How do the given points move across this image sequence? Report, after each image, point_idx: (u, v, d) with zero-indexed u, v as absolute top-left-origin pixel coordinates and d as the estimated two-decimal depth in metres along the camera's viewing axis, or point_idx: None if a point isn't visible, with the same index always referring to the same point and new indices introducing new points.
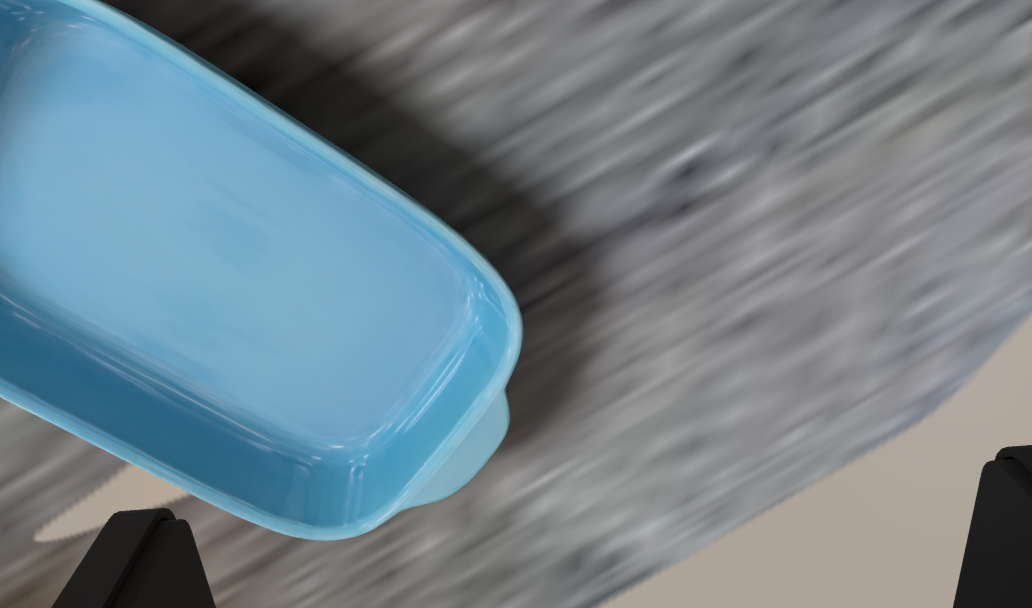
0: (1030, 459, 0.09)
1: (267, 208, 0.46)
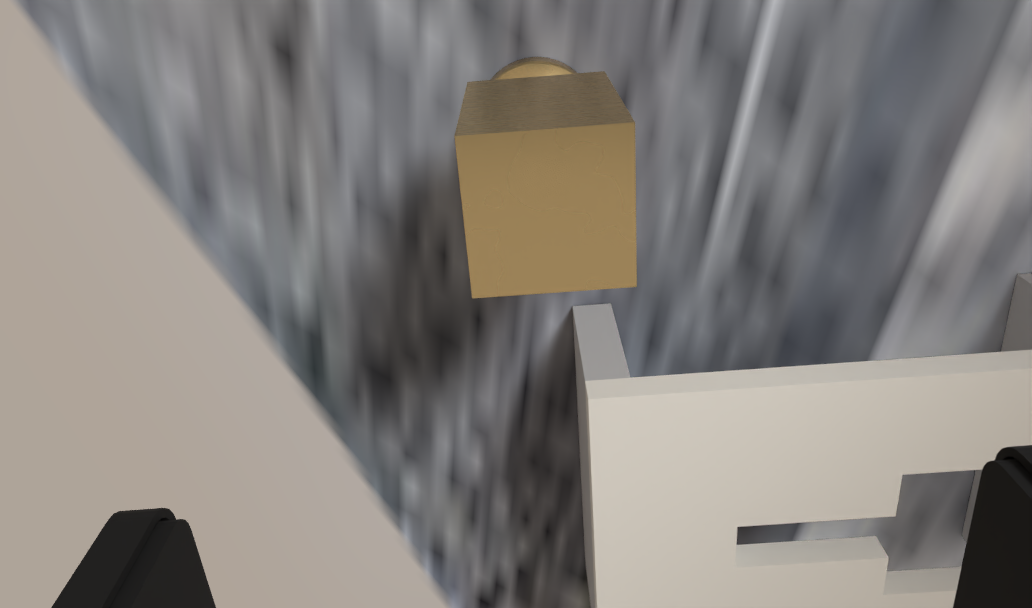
0: (1030, 459, 0.09)
1: None
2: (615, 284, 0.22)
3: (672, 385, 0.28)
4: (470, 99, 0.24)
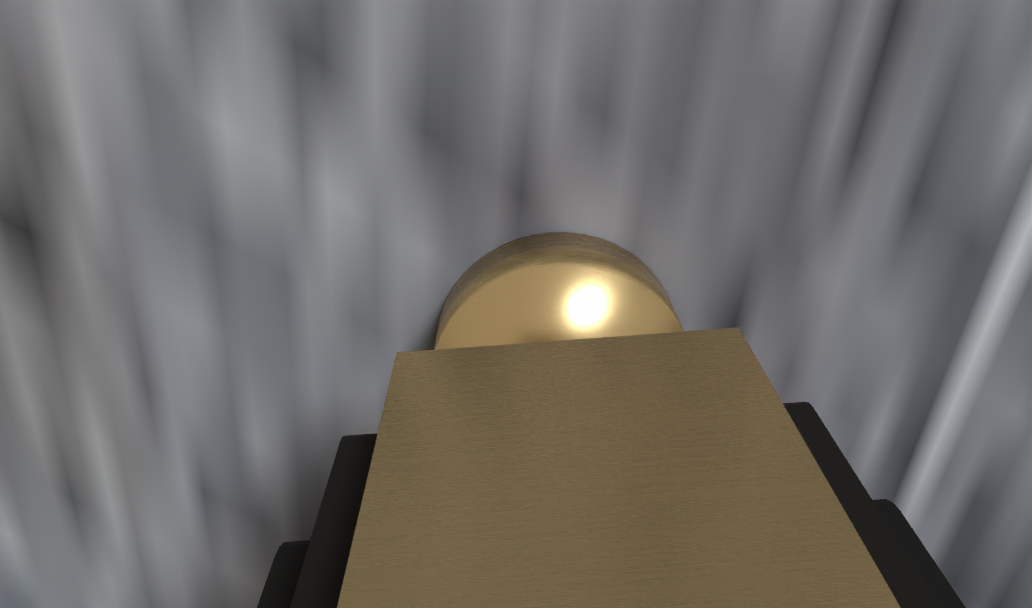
0: None
1: None
2: None
3: None
4: (385, 490, 0.08)
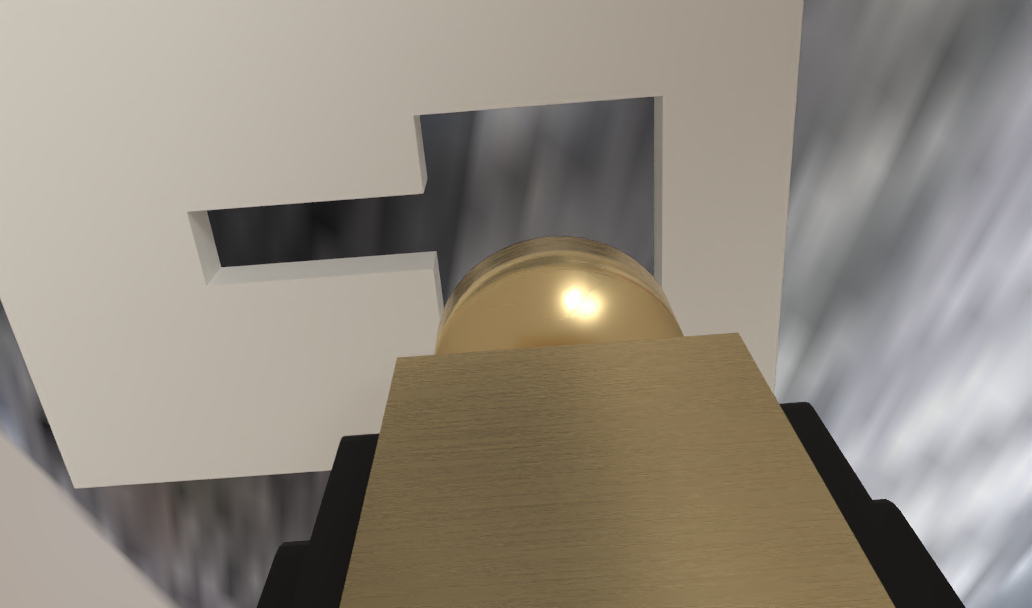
0: None
1: None
2: None
3: None
4: (386, 496, 0.08)
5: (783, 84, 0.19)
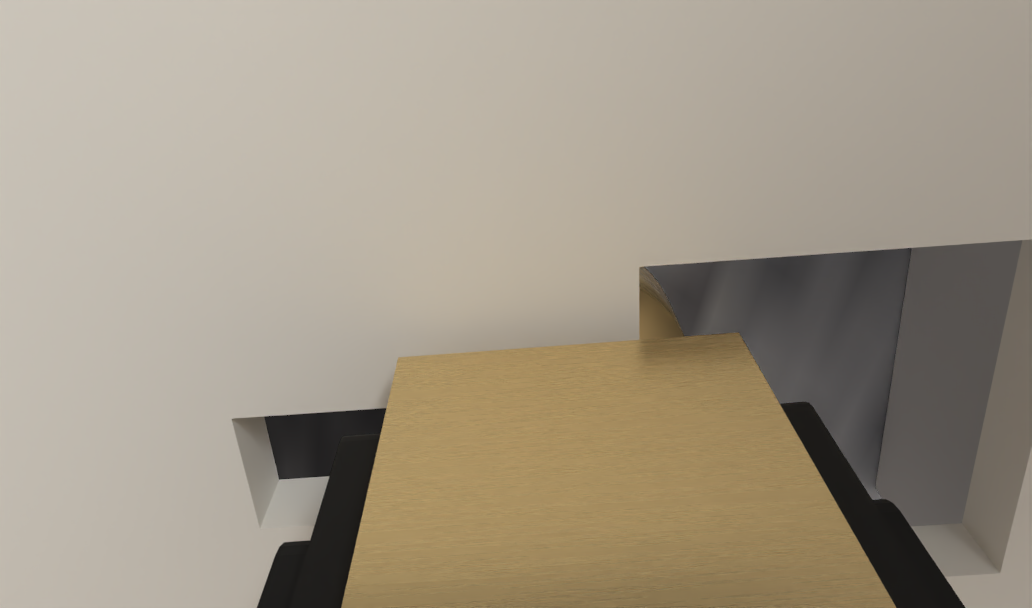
0: None
1: None
2: None
3: None
4: (387, 496, 0.08)
5: None
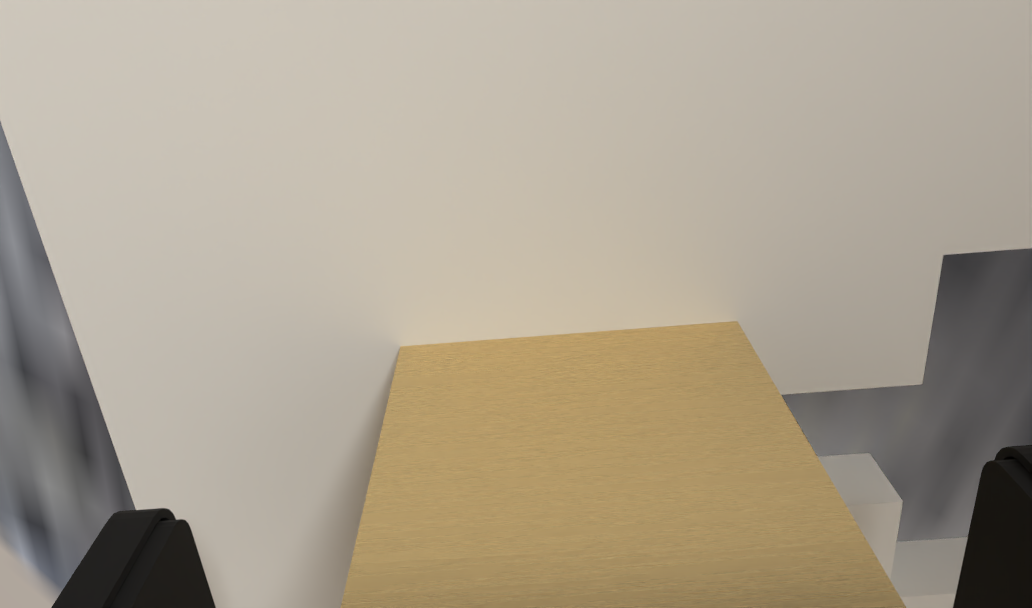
0: (1030, 459, 0.09)
1: None
2: None
3: None
4: (390, 479, 0.08)
5: None
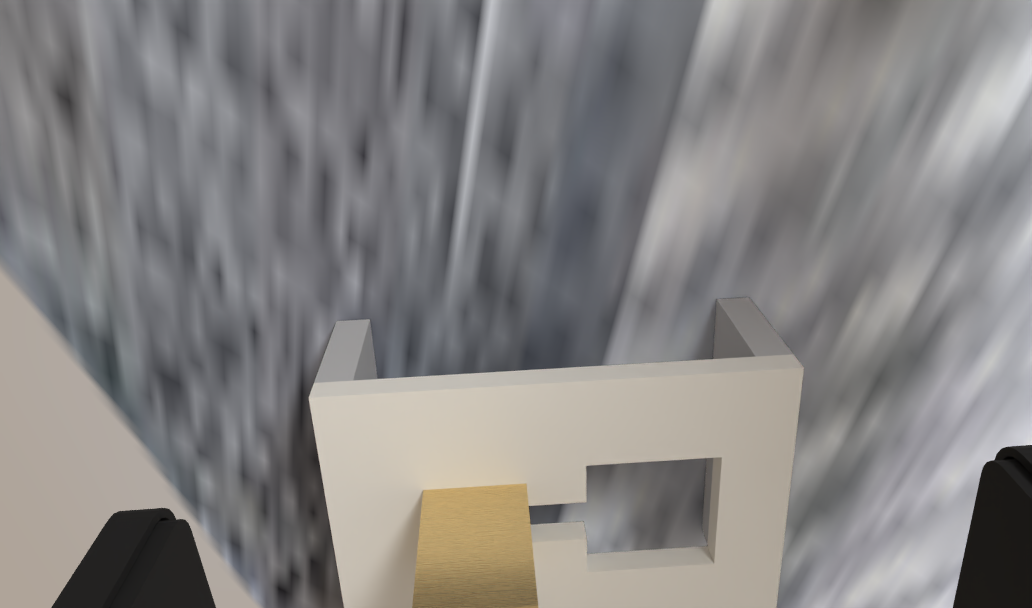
0: (1030, 459, 0.09)
1: None
2: None
3: (383, 387, 0.33)
4: (424, 533, 0.32)
5: (787, 452, 0.35)
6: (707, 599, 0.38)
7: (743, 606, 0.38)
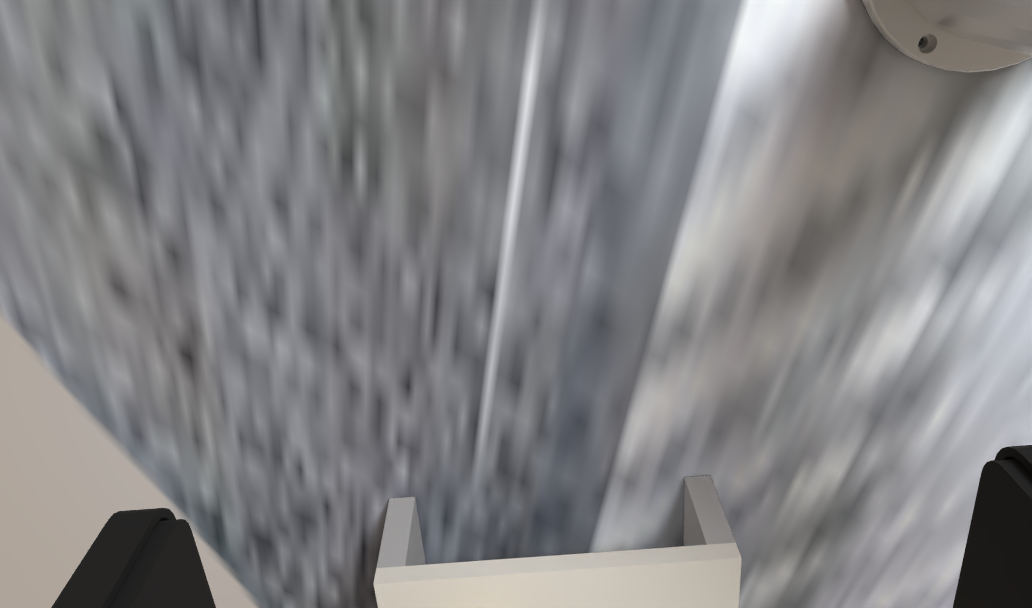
0: (1030, 459, 0.09)
1: None
2: None
3: (428, 573, 0.45)
4: None
5: None
6: None
7: None
